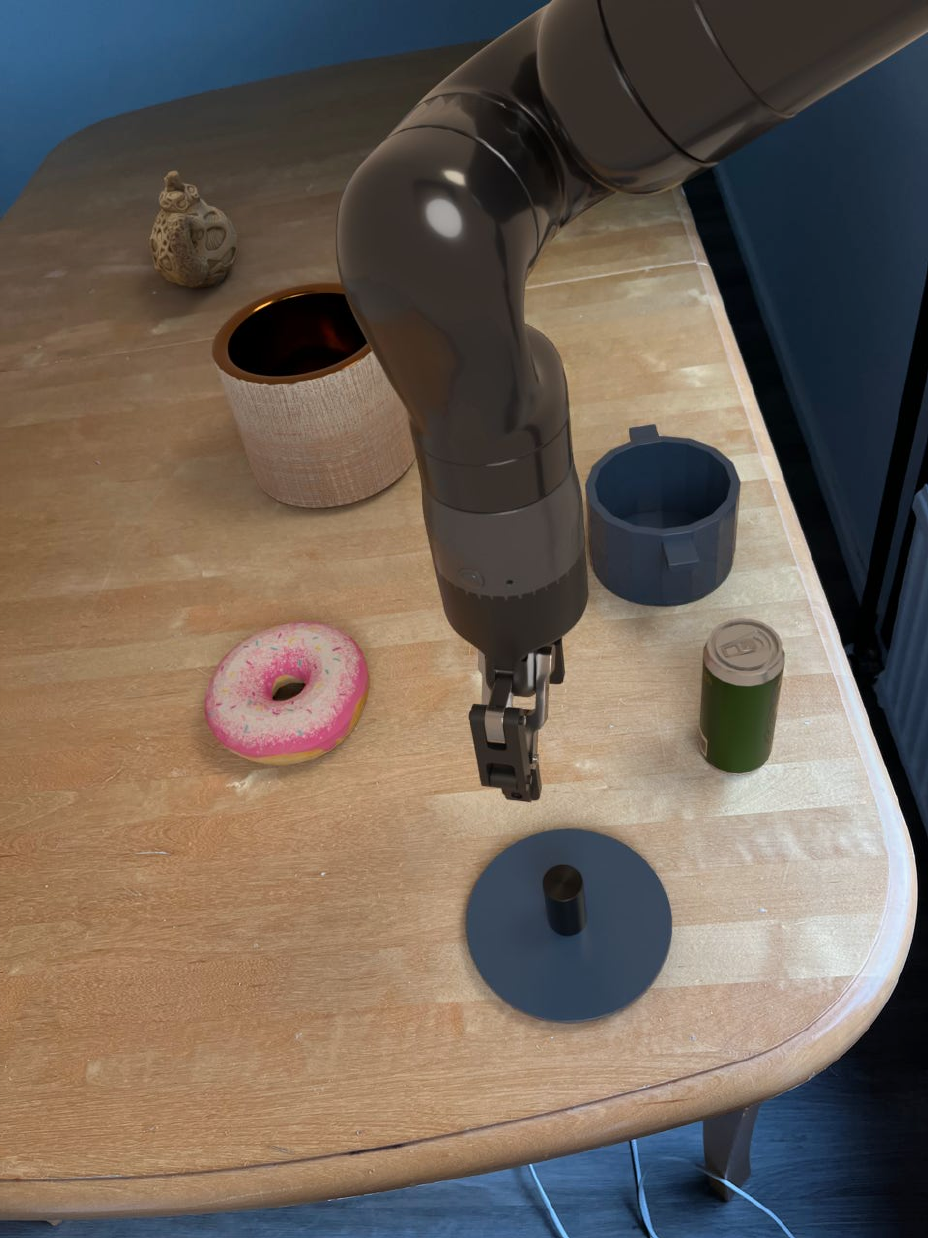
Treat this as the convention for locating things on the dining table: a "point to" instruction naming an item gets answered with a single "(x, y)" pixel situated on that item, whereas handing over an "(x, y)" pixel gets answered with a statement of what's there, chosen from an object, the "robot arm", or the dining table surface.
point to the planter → (311, 399)
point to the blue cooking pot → (662, 518)
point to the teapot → (191, 237)
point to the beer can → (740, 695)
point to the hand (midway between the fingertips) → (535, 733)
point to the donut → (297, 723)
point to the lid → (569, 926)
